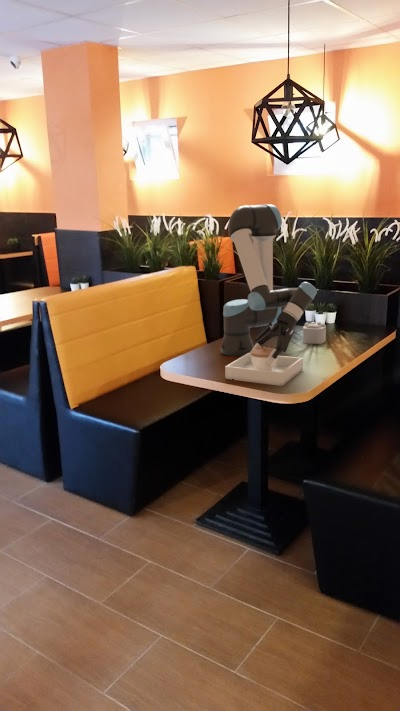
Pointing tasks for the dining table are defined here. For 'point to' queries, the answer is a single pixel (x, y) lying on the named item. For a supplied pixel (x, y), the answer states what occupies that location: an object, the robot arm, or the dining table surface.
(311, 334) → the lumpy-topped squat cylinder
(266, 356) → the lidded jar
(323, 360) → the dining table surface
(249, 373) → the cream square tray
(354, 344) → the dining table surface
